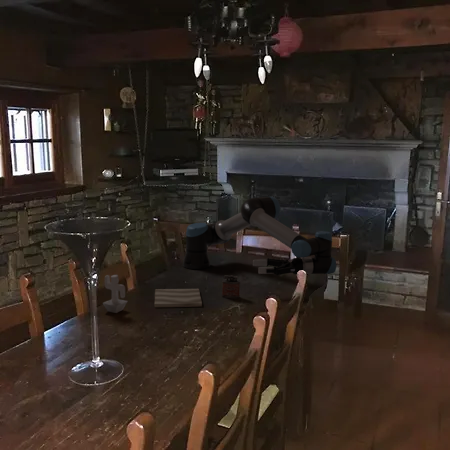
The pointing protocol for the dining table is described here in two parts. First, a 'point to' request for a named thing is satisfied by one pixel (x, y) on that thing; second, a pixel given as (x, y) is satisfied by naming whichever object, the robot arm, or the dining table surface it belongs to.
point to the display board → (177, 298)
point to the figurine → (114, 294)
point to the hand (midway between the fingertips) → (255, 266)
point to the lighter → (230, 287)
